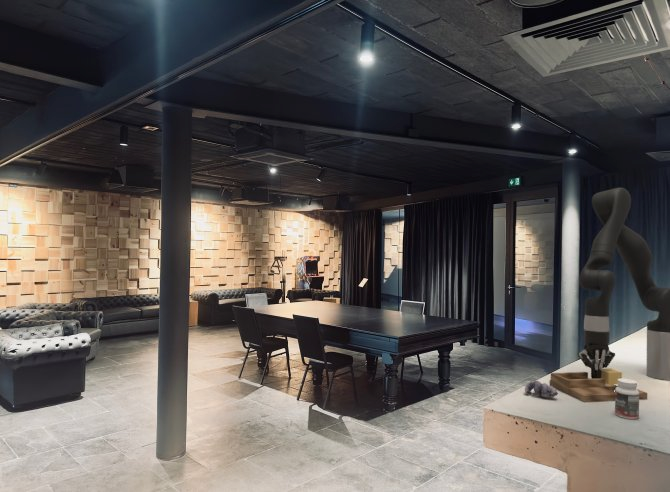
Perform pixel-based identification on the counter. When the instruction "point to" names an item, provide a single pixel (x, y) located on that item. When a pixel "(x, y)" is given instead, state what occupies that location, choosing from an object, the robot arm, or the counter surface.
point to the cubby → (576, 380)
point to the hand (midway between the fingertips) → (596, 380)
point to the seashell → (541, 389)
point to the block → (611, 376)
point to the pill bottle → (627, 399)
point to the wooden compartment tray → (593, 392)
